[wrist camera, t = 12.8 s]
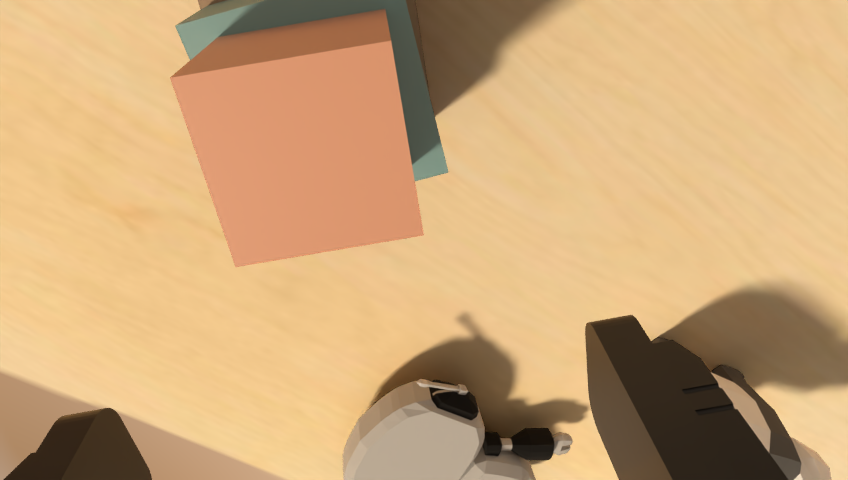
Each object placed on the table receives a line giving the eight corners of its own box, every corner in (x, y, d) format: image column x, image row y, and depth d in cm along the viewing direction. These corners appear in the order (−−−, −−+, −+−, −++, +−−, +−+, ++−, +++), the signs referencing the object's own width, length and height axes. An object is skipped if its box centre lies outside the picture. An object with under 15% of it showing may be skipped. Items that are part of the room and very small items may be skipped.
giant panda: (600, 380, 44) (654, 491, 36) (648, 323, 42) (718, 427, 34) (745, 441, 48) (824, 553, 40) (795, 393, 46) (890, 500, 38)
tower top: (391, -47, 25) (396, -37, 21) (435, 132, 29) (448, 172, 25) (207, 5, 26) (175, 25, 21) (275, 175, 30) (260, 222, 25)
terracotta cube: (384, 8, 22) (391, 40, 16) (411, 165, 25) (423, 235, 19) (217, 37, 22) (169, 77, 16) (263, 190, 25) (235, 267, 19)
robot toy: (570, 406, 46) (404, 337, 41) (592, 454, 43) (412, 386, 37) (476, 504, 51) (314, 454, 45) (489, 555, 47) (314, 508, 41)
